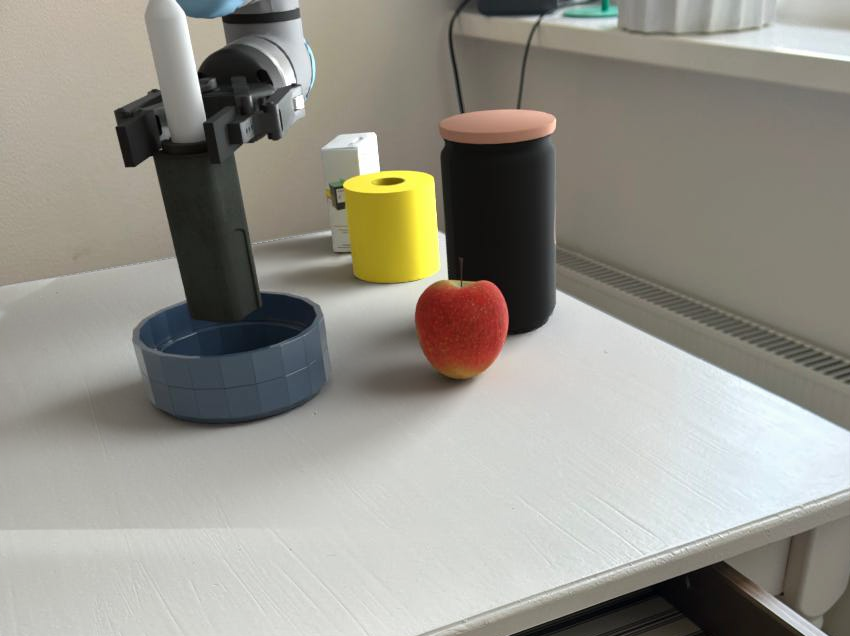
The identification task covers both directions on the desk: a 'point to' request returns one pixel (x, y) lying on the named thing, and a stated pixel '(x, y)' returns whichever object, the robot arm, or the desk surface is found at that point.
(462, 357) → the apple
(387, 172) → the yellow toilet paper roll
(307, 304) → the bowl
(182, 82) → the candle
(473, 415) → the desk surface
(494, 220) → the coffee jar
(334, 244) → the ink box
